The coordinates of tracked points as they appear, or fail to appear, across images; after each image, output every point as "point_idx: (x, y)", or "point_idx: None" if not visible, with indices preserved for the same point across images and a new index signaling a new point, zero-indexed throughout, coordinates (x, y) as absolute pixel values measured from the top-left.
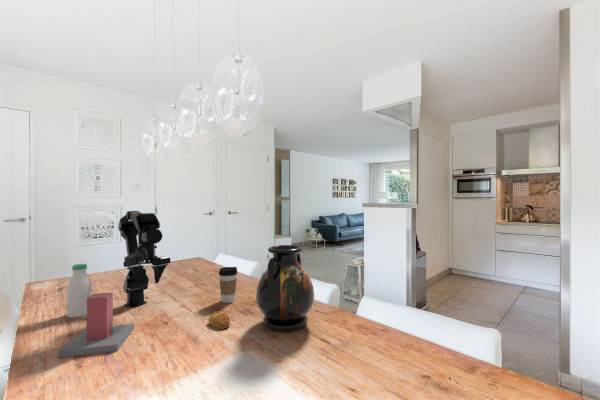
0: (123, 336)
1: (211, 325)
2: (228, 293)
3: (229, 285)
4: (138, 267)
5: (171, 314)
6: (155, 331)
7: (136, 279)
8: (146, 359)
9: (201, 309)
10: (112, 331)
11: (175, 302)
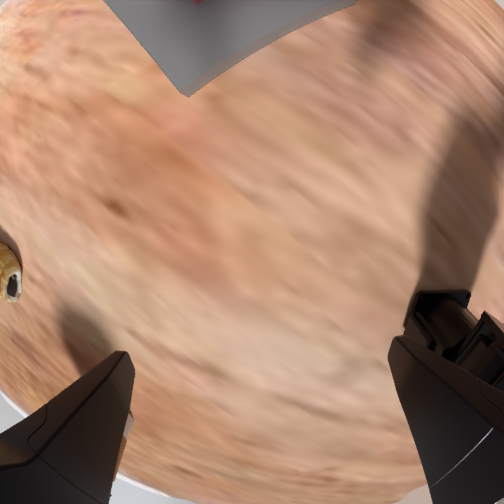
0: (116, 14)
1: (5, 245)
2: None
3: None
4: (477, 497)
5: (170, 286)
6: (91, 130)
7: (430, 360)
8: (22, 40)
9: None
10: (194, 2)
11: (275, 388)
